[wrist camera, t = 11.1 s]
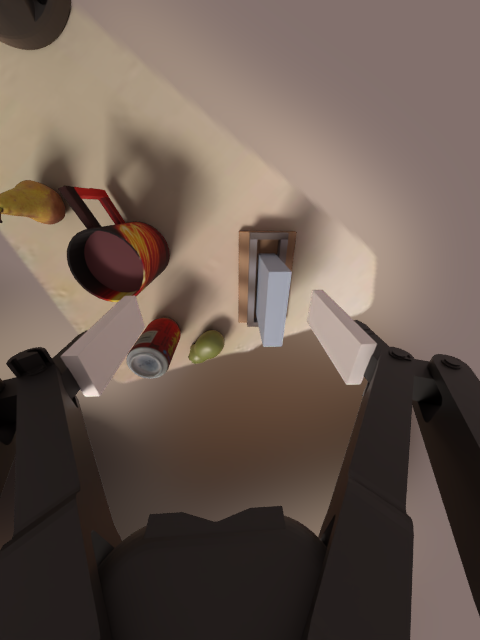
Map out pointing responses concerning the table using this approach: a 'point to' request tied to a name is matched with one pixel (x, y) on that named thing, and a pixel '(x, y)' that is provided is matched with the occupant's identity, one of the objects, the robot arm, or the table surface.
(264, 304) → the door panel
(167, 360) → the soda can
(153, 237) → the mug
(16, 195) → the fruit
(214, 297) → the table surface
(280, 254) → the track base
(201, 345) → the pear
